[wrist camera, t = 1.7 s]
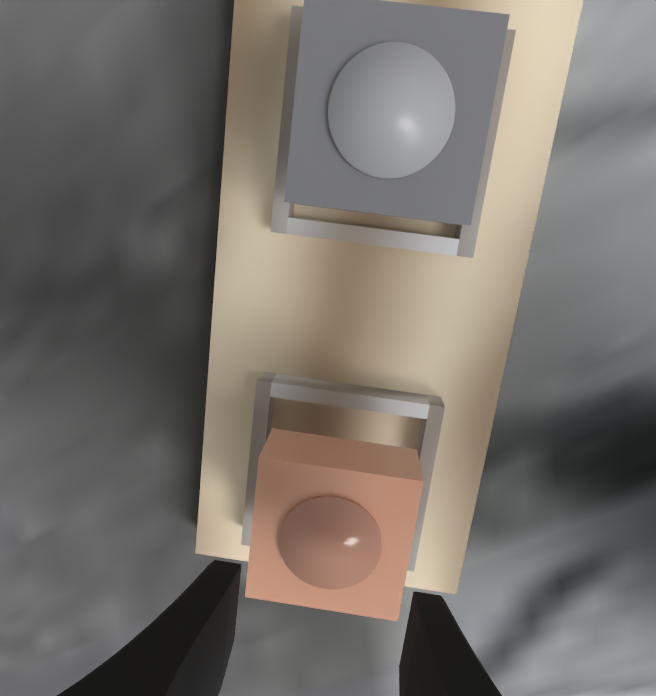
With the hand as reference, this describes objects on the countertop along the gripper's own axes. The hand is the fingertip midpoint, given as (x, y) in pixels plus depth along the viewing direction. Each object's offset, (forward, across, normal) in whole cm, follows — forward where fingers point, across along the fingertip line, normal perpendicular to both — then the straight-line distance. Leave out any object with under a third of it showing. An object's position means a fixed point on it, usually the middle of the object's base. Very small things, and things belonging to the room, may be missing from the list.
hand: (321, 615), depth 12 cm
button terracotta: (+5, 0, 0) cm, 5 cm away
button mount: (+9, 0, -6) cm, 10 cm away
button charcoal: (+5, 0, -11) cm, 12 cm away
